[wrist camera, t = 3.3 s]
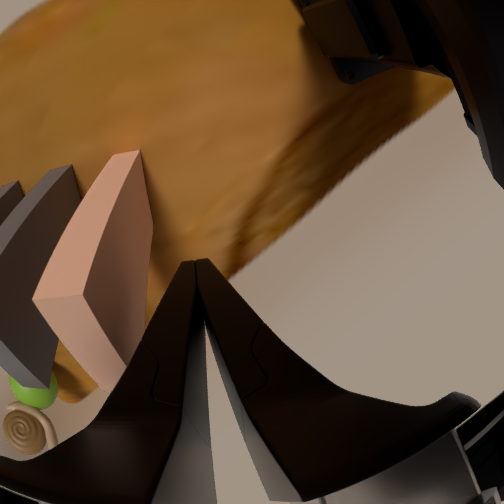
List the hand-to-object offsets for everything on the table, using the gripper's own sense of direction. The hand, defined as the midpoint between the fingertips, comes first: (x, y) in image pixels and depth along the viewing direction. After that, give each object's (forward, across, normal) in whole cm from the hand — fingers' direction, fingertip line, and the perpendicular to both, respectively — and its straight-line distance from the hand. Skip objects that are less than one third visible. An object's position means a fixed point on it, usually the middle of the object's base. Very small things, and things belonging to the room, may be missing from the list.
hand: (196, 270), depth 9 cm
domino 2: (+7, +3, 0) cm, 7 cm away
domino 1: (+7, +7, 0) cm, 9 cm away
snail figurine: (+7, +18, +15) cm, 25 cm away
